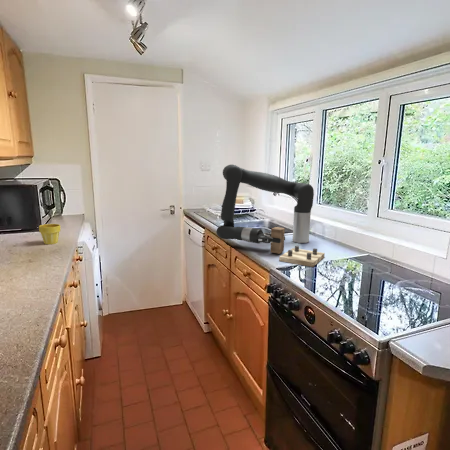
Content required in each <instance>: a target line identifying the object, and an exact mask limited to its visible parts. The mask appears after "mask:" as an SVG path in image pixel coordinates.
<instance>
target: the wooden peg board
mask: <svg viewBox="0 0 450 450" xmlns="http://www.w3.org/2000/svg"><path fill="white" fill-rule="evenodd" d="M324 258H325V252H320V251H318V248H312V250H309V249H302V248H300V246H299V245H295V246H294V247H292V248H290V249H288V250H287V251H286V252H284V253H283V254H281V255H279V258H278V259H279V260H278V261H279V262H283V263H284V262H285V263H289V264H295V265H300V266H304V267H312V268H314V267H315V266H316V265H317V264H318V263H319V262H320V261H322V260H323V259H324Z"/></svg>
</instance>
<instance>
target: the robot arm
mask: <svg viewBox="0 0 450 450" xmlns="http://www.w3.org/2000/svg"><path fill="white" fill-rule="evenodd" d="M222 176H223V178H224V180H226V182H225V185H226V187H225V188H226V189H225V194H224V197H223V201H222V204H221V211H220V219H221V220H222V221H223V224H222V225H220V226H218V227H217V228H216V232H215V233H216V235H217V237H219V238H220V239H223V240H238V241H243V242H248V243H253V244H260V243H261V244H262V243H264V244H271V243H272V242H275V243H280V242H281V239H280V238H273V237H271V231H270V232H263V230H262V229H260V228H256V227H243V226H235V219H234V216H235V209H236V203H237V198H238V191H239V187H240V184H246V185H248V186H250V187H253V188H254V189H255V188H256V189H257V190H258V189H259V190H262V191H265V192H269V193H275V194H285V195H288V196H290V197H293V198H296V199H297V201H296V205H295V206H294V207H293V226H292V227H293V228H292V242H294V243H299V244H307V243H309V241H310V231H311V213H312V208H313V205H314V195H315V190H314V188H313V186H312V185H311V184H309V183H306V182H297V181H289V180H287V179H284V178H282V177H279V176H277V175H275V174H274V175H273V174H271V173H267V172H261V171H253V170H248V169H245V168H242V167H240V166H238V165H236V164H228V165H226V166H224V168H223V169H222ZM284 241H286V236H285V235H284Z"/></svg>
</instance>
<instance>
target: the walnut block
mask: <svg viewBox="0 0 450 450" xmlns="http://www.w3.org/2000/svg"><path fill="white" fill-rule="evenodd" d="M285 230H286V228H284V227H277V226H275V227H272V228H271V230H270V232H271V237H273V238H280V239H281V242H280V243H275V242H272V243H271V242H270V253H273V254H278V255H279V254H282V253H283V252H285V251H284V250H285V240H284V236H285Z"/></svg>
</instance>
